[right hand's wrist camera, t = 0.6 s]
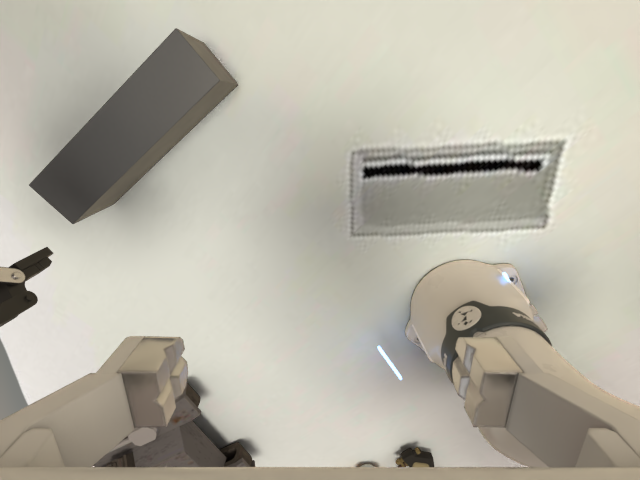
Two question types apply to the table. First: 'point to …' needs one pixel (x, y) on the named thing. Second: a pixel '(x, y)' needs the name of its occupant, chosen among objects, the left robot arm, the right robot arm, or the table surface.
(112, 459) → the toy
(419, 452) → the spray gun
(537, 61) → the table surface
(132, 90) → the box
